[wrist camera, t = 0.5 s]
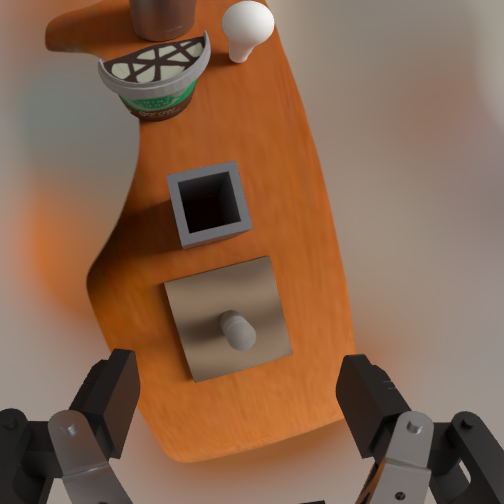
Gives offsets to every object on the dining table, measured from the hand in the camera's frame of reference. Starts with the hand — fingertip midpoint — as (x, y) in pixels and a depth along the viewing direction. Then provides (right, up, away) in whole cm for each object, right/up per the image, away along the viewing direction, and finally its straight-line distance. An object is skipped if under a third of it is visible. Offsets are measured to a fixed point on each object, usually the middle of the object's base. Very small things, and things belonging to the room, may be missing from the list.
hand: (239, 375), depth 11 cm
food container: (-11, +23, +23) cm, 34 cm away
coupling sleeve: (-5, +8, +24) cm, 26 cm away
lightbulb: (-2, +31, +25) cm, 40 cm away
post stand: (-2, -3, +24) cm, 24 cm away
